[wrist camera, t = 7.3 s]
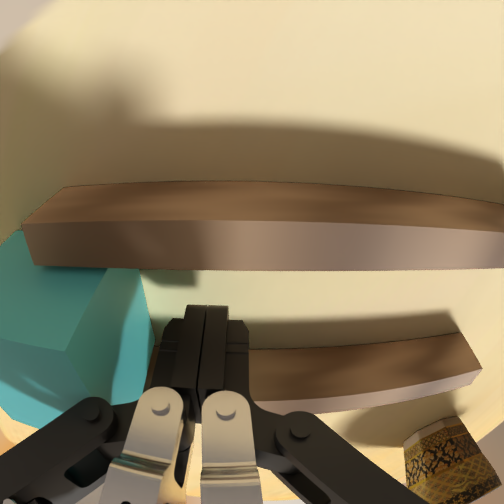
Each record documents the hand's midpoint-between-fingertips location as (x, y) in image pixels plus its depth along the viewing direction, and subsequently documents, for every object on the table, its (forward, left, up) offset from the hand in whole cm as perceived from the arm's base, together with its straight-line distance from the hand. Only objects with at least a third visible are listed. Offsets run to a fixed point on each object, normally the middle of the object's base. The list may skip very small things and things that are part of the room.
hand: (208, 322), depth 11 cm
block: (+6, 0, -2) cm, 6 cm away
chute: (-4, 0, -2) cm, 5 cm away
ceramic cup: (-22, +20, -2) cm, 30 cm away
